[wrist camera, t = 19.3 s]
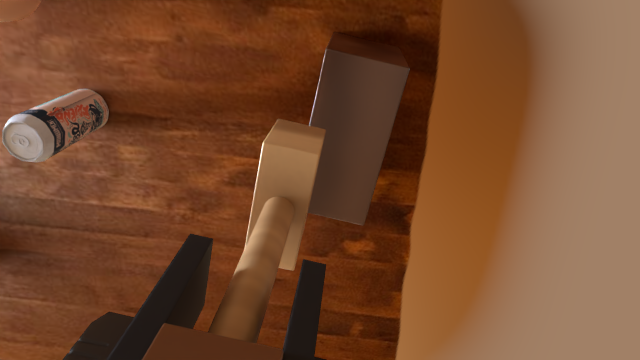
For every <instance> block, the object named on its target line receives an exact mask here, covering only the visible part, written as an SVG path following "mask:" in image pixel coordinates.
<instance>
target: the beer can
mask: <svg viewBox="0 0 640 360" xmlns="http://www.w3.org/2000/svg"><path fill="white" fill-rule="evenodd" d="M108 116H109V110H108V106H107V104H106V102H105V101H104V99H103V98H102V97H101V96H100V95H99V94H98V93H96V92H94V91H92V90H89V89H79V90H76V91H73V92H71V93H68V94H66V95H63V96H61V97H58V98H56V99H53V100H51V101H49V102H46V103H44V104H41V105H39V106H36V107H34V108H31V109H29V110H26V111H24V112H22V113H19V114H17V115H14V116H13V117H11V118H10V119H9V120H8V121H7V123H6V125H5V127H4V129H3V130H2V131H3V144H4V145H5V147H6V148H7V150H8V151H9V153H10V154H11V155H13V156H14V157H16V158H18V159H20V160H21V161H29V162H42V161H45V160H47V159H48V158H50V157H52V156H53V155H55V154H57V153H58V152H60V151H62V150H63V149H65V148H67V147H69V146H70V145H72V144H74V143H75V142H77V141H79V140H80V139H82V138H84V137H85V136H87V135H89V134H91V133H92V132H94V131H96V130H97V129H99V128H101V127H102V126H104V125H105V124H106V122H107V120H108Z"/></svg>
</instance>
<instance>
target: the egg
mask: <svg viewBox="0 0 640 360" xmlns="http://www.w3.org/2000/svg"><path fill="white" fill-rule="evenodd" d="M40 2H41V0H0V22H12V21H17V20H22V19H24V18H26V17H28V16H30V15H31V14H32V13H33V12H34V11H35V10H36V9H37V8H38V6H39V4H40Z"/></svg>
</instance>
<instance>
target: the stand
mask: <svg viewBox="0 0 640 360" xmlns="http://www.w3.org/2000/svg"><path fill="white" fill-rule="evenodd" d="M409 70H410V68H409V66H408V64H407V62H406V60H405V58H404V56H403V54H402V52H401V50H400V48H399V47H396V46H392V45H387V44H383V43H379V42H375V41H371V40H366V39H362V38H358V37H354V36H350V35H345V34H341V33H337V32H334V33H333V35H332V37H331V39H330V41H329V43H328V45H327V48H326V50H325V55H324V59H323V64H322V68H321V73H320V78H319V82H318V87H317V91H316V96H315V101H314V105H313V110H312V114H311V119H310V124H309V126H313V127H318V128H322V129H325V130H326V133H325V137H324V142H323V146H322V151H321V155H320V159H319V164H318V168H317V173H316V177H315V182H314V186H313V191H312V195H311V200H310V204H309V208H308V213H312V214H316V215H320V216H324V217H329V218H333V219H337V220H342V221H346V222H350V223H355V224H359V225H364V223H365V220H366V216H367V213H368V210H369V206H370V203H371V199H372V196H373V193H374V189H375V186H376V182H377V179H378V176H379V172H380V169H381V165H382V162H383V159H384V155H385V152H386V148H387V145H388V142H389V138H390V135H391V131H392V128H393V125H394V121H395V118H396V114H397V111H398V108H399V104H400V101H401V97H402V94H403V91H404V87H405V84H406V81H407V77H408V74H409Z"/></svg>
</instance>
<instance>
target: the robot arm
mask: <svg viewBox="0 0 640 360" xmlns="http://www.w3.org/2000/svg"><path fill="white" fill-rule="evenodd" d="M212 244H213V239H212V238H207V237H203V236H199V235H194V234H190V235H189V236H188V238H187V239H186V241H185V242H184V244H183V245H182V247H181V248H180V250H179V251H178V253H177V254H176V256H175V257H174V259H173V260H172V262H171V263H170V265H169V266H168V268H167V269H166V271H165V272H164V274H163V275H162V277H161V278H160V280H159V281H158V283H157V284H156V286H155V287H154V289H153V290H152V292H151V293H150V295H149V296H148V298H147V299H146V301H145V302H144V304H143V305H142V307H141V308H140V310H139V311H138V313H137V314H136V316H135V317H130V316H126V315H121V314H117V313H112V312H108V313H106V314H105V315H103V316H101V317H100V318H98V319H97V320H95V321H94V322H92V323H91V324H90V325H89V327H88V328H87V329H86V330H85V332H84V333H83V334H82V336H81V337H80V339H79V341H77V342H76V343H75V345H74V346H73V347H72V348H71V350H70V352H69V353H67V355H66V356H65V357H64V359H63V360H142V359H143V357H144V355H145V354H146V352H147V350H148V349H149V347H150V345H151V344H152V342H153V340H154V338H155V337H156V335H157V333H158V332H159V330H160V328H161V327H162V325H163V324H164V323H167V324H172V325H176V326H181V327H185V328H190V329H193V327H194V325H195V323H196V321H197V319H198V317H199V315H200V312H201V310H202V308H203V306H204V303H205V295H206V288H207V281H208V273H209V266H210V259H211V251H212ZM325 270H326V264H322V263H317V262H313V261H309V260H304V259H303V263H302V268H301V272H300V276H299V281H298V285H297V289H296V293H295V298H294V302H293V306H292V311H291V315H290V319H289V323H288V328H287V333H286V337H285V342H284V346H283V352H284V354H283V359H282V360H326V359H321V358H317V357H314V354H315V346H316V339H317V331H318V324H319V316H320V308H321V301H322V293H323V285H324V278H325Z"/></svg>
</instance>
